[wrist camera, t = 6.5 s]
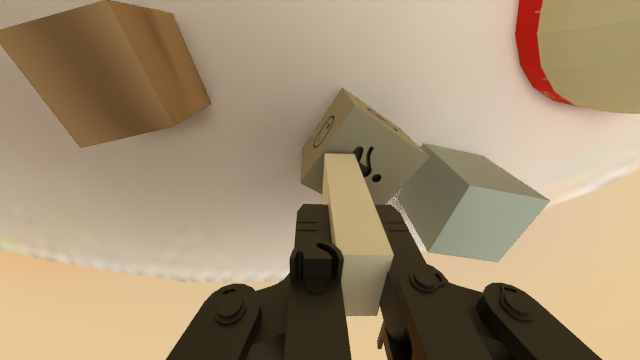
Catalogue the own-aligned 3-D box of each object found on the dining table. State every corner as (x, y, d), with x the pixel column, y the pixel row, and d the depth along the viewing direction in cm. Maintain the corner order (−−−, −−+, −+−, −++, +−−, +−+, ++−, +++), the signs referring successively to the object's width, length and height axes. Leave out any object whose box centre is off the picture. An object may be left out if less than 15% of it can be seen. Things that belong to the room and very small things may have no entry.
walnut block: (141, 119, 16) (80, 147, 12) (91, 35, 14) (-9, 32, 9) (211, 103, 16) (174, 126, 12) (172, 13, 13) (106, -1, 9)
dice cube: (342, 87, 16) (355, 105, 11) (399, 128, 17) (429, 157, 13) (302, 148, 18) (300, 183, 13) (356, 179, 19) (370, 219, 15)
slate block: (397, 197, 20) (428, 252, 15) (423, 143, 18) (470, 185, 13) (451, 207, 21) (498, 262, 16) (482, 155, 18) (550, 200, 13)
